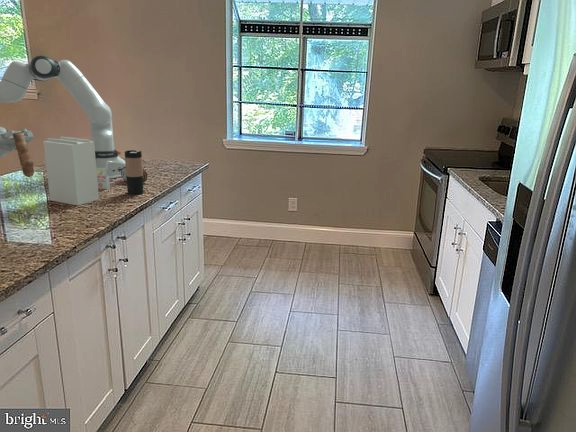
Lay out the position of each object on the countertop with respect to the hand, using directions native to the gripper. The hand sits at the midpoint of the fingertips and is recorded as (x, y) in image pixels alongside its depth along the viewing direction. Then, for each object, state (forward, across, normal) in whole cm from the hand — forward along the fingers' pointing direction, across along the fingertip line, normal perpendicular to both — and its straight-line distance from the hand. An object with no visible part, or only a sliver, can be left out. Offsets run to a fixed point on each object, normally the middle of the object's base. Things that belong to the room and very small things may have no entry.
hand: (19, 131), depth 200 cm
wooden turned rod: (-7, 0, +9) cm, 12 cm away
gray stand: (+11, 0, +38) cm, 40 cm away
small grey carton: (+7, +22, +36) cm, 43 cm away
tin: (+11, +40, +38) cm, 56 cm away
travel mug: (+24, +23, +46) cm, 56 cm away
